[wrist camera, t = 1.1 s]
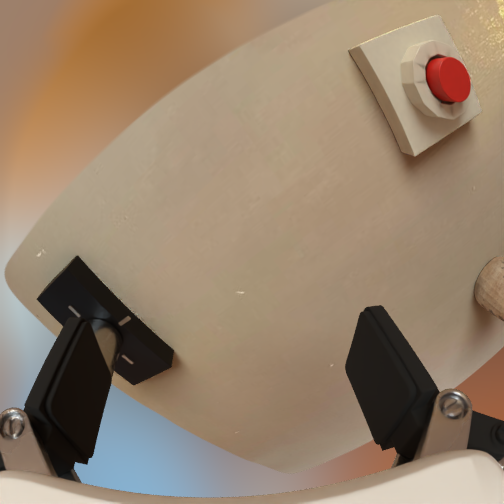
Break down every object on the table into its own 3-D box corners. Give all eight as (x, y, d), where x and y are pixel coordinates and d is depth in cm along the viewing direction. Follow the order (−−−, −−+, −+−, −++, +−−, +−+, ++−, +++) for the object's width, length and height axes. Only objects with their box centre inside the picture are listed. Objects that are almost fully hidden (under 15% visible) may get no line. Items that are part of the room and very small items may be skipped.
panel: (41, 291, 25) (30, 306, 23) (85, 247, 24) (73, 261, 22) (130, 373, 31) (126, 390, 29) (183, 345, 30) (181, 363, 27)
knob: (73, 330, 25) (54, 368, 20) (98, 311, 24) (79, 351, 19) (105, 358, 27) (92, 397, 22) (131, 341, 26) (119, 384, 21)
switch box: (347, 49, 19) (369, 40, 15) (425, 18, 17) (452, 10, 13) (401, 152, 23) (427, 161, 19) (468, 110, 21) (495, 114, 18)
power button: (418, 65, 16) (431, 64, 15) (445, 53, 16) (459, 51, 14) (437, 107, 18) (451, 109, 16) (462, 92, 17) (476, 93, 16)
